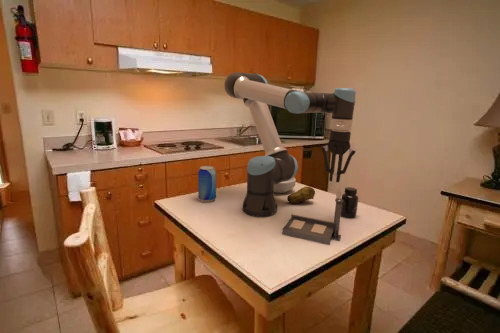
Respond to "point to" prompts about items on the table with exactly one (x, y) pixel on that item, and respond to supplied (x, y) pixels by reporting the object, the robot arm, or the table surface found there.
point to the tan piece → (338, 193)
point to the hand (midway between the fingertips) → (333, 189)
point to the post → (337, 220)
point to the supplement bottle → (349, 203)
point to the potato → (301, 195)
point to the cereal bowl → (284, 186)
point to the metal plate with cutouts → (309, 229)
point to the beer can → (207, 184)
